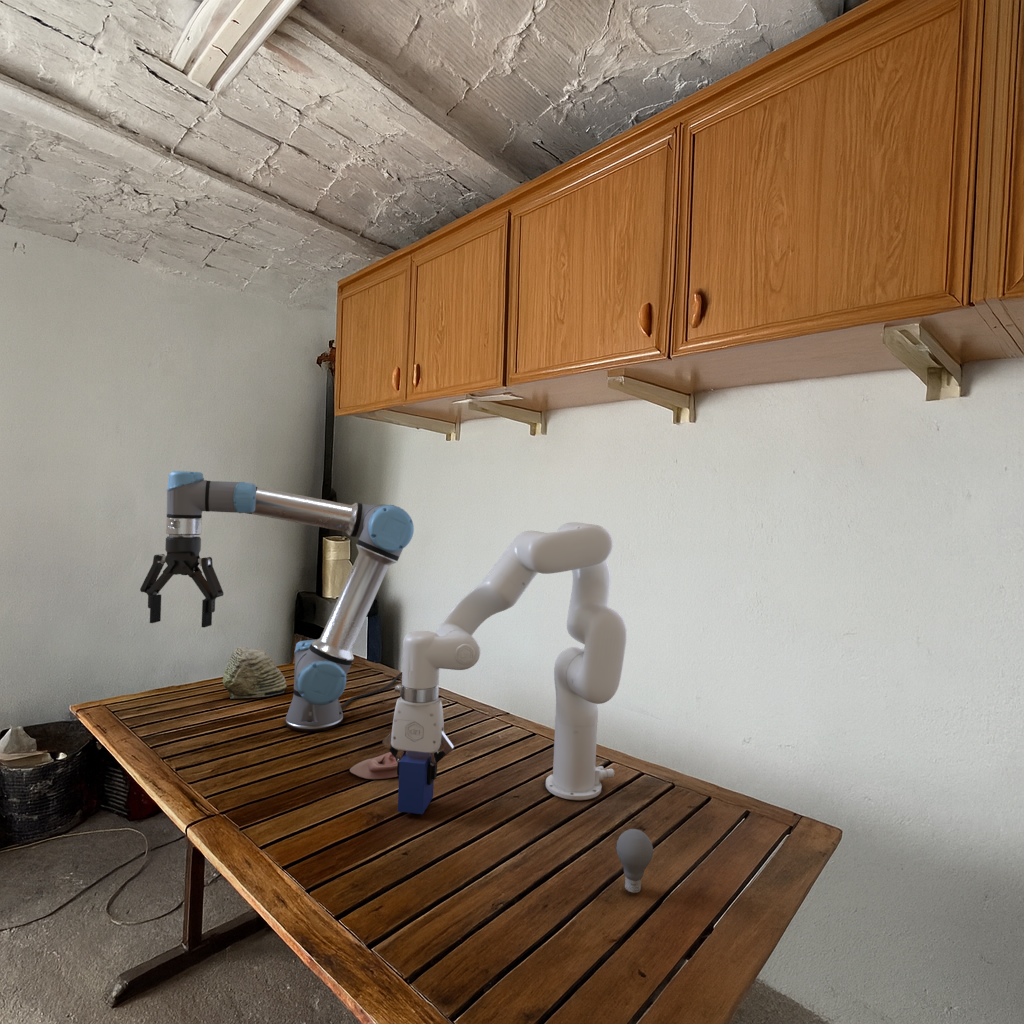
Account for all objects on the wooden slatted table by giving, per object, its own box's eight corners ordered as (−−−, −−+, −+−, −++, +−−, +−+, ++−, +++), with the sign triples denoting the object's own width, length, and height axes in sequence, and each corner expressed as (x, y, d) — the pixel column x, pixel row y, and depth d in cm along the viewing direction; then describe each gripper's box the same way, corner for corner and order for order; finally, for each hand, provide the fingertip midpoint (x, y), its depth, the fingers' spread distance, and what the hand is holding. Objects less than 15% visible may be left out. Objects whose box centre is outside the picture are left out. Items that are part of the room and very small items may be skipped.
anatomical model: (344, 758, 144) (365, 740, 155) (343, 775, 144) (365, 756, 155) (399, 766, 141) (417, 746, 152) (398, 783, 141) (416, 763, 152)
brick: (397, 811, 127) (399, 761, 126) (409, 794, 134) (411, 746, 134) (422, 814, 126) (424, 763, 126) (433, 797, 133) (434, 749, 133)
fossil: (218, 695, 195) (220, 647, 195) (278, 685, 208) (279, 640, 207) (228, 703, 189) (230, 653, 188) (289, 692, 201) (290, 645, 201)
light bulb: (610, 879, 108) (613, 822, 108) (644, 879, 109) (647, 822, 109) (619, 902, 102) (622, 840, 102) (655, 901, 103) (658, 840, 103)
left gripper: (125, 533, 149) (122, 623, 150) (222, 539, 146) (218, 631, 146) (148, 532, 157) (145, 617, 157) (240, 537, 153) (237, 625, 153)
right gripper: (373, 694, 127) (370, 784, 127) (456, 702, 124) (452, 793, 125) (386, 684, 135) (383, 768, 135) (464, 691, 132) (461, 777, 132)
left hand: (180, 624), depth 152 cm, fingers open, 13 cm apart
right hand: (416, 779), depth 130 cm, fingers closed on brick, 5 cm apart
